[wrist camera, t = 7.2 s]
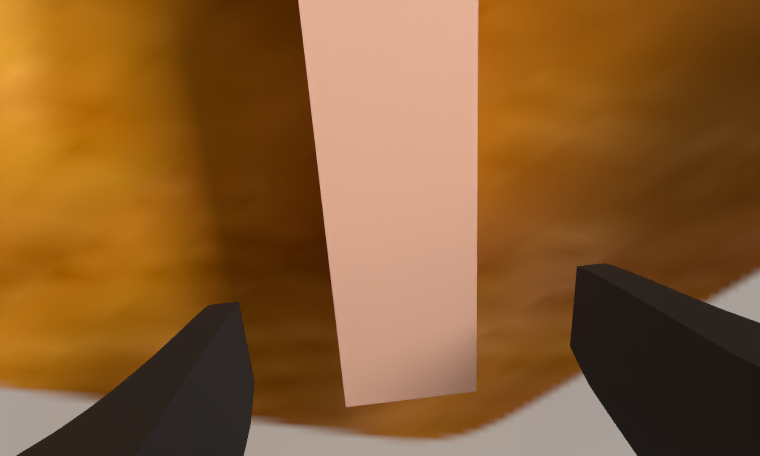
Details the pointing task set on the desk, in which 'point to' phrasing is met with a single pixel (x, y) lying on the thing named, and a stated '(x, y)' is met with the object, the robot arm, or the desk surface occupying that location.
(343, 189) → the salmon pink block
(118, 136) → the desk surface
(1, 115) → the desk surface
